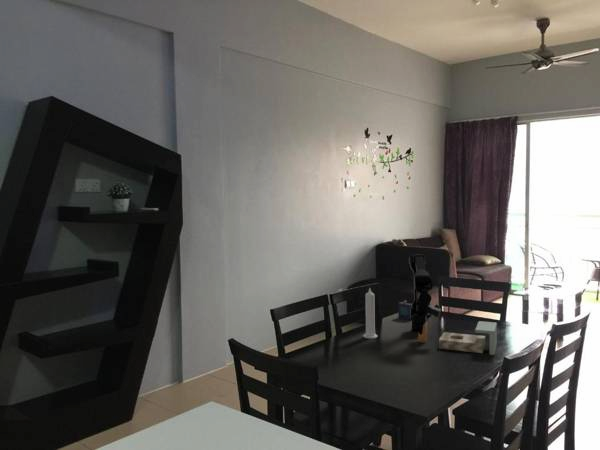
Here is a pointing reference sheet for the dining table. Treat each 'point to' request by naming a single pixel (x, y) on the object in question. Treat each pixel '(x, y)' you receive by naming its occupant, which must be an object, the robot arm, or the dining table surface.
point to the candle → (370, 315)
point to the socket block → (462, 342)
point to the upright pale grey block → (490, 329)
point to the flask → (404, 310)
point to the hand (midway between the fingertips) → (422, 331)
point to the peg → (423, 334)
